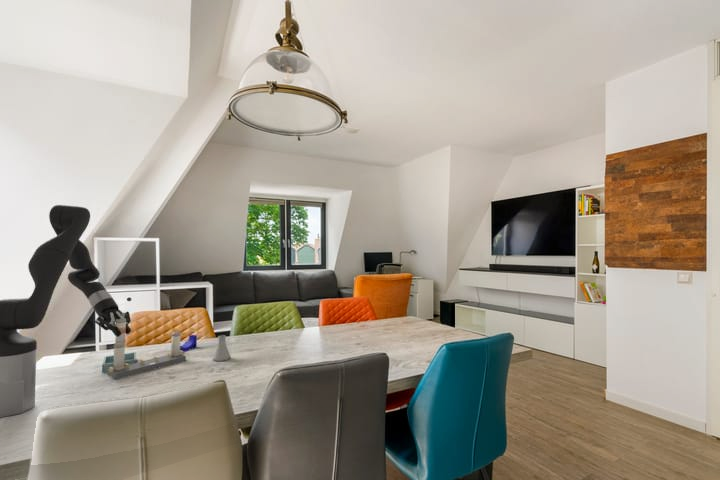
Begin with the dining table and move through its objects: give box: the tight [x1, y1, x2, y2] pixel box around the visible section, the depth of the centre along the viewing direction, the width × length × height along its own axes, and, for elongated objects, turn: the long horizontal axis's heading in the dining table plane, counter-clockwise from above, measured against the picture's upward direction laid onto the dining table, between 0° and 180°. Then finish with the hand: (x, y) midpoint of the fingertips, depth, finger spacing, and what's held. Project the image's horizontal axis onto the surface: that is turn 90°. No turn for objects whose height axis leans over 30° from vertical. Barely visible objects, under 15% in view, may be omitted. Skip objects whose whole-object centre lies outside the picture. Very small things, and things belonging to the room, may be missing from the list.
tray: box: [101, 351, 137, 373], centre depth 139 cm, size 12×11×3 cm
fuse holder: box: [106, 350, 187, 380], centre depth 136 cm, size 27×8×4 cm, turn 144°
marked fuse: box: [114, 318, 127, 344], centre depth 139 cm, size 4×4×10 cm
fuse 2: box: [170, 331, 182, 357], centre depth 145 cm, size 4×4×10 cm
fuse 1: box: [113, 342, 126, 371], centre depth 128 cm, size 4×4×10 cm
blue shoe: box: [180, 334, 198, 352], centre depth 160 cm, size 12×4×6 cm, turn 162°
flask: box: [212, 334, 232, 362], centre depth 147 cm, size 7×7×10 cm
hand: (124, 333), depth 139 cm, fingers closed on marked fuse, 3 cm apart
